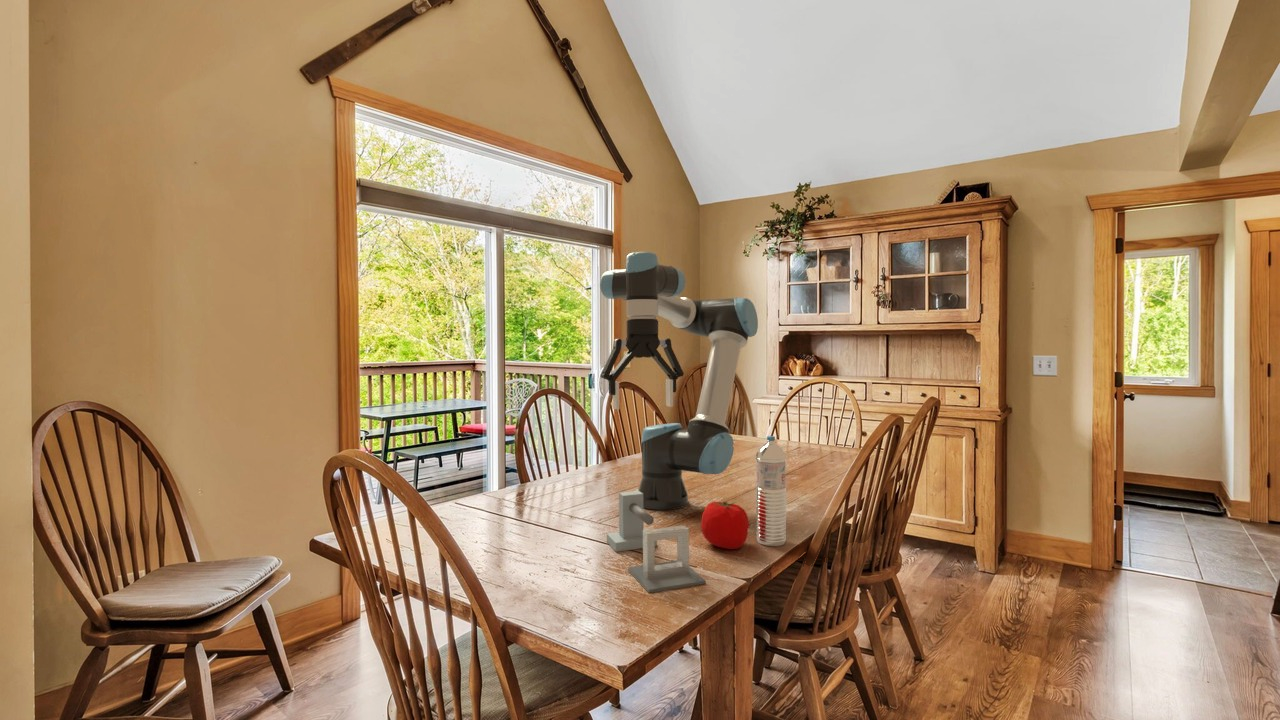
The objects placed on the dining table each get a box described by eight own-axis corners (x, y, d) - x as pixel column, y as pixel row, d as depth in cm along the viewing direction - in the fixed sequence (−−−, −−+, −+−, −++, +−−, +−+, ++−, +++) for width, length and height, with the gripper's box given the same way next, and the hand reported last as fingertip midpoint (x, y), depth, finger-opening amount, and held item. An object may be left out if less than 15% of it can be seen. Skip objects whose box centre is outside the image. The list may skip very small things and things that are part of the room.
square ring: (684, 568, 124) (683, 525, 124) (689, 572, 122) (688, 528, 121) (643, 574, 121) (642, 530, 121) (647, 579, 119) (647, 534, 118)
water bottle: (767, 535, 146) (766, 433, 145) (791, 542, 141) (791, 436, 140) (750, 542, 141) (750, 436, 141) (775, 549, 136) (775, 440, 136)
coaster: (680, 562, 129) (680, 559, 129) (705, 583, 118) (705, 580, 118) (628, 570, 125) (628, 567, 125) (648, 592, 114) (648, 589, 114)
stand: (606, 541, 143) (606, 491, 142) (646, 536, 146) (645, 487, 146) (627, 564, 128) (627, 508, 128) (671, 558, 131) (670, 504, 131)
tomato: (724, 558, 131) (724, 512, 131) (689, 542, 142) (689, 499, 141) (762, 548, 137) (762, 504, 137) (726, 533, 148) (726, 492, 147)
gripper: (683, 319, 150) (684, 403, 151) (587, 318, 142) (588, 408, 142) (696, 318, 143) (697, 406, 144) (596, 317, 135) (597, 411, 135)
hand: (643, 407), depth 143 cm, fingers open, 13 cm apart
